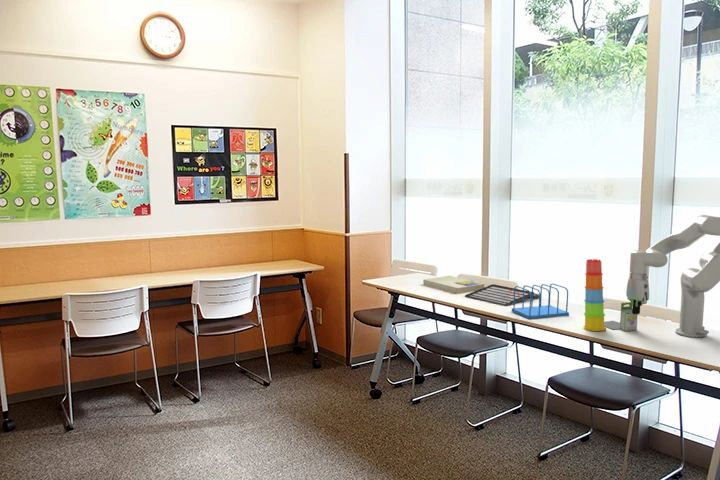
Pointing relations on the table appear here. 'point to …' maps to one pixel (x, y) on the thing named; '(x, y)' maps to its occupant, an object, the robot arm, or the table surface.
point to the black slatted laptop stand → (500, 295)
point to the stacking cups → (594, 296)
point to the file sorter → (540, 310)
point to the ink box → (628, 318)
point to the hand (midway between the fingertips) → (636, 313)
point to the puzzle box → (453, 284)
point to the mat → (612, 325)
